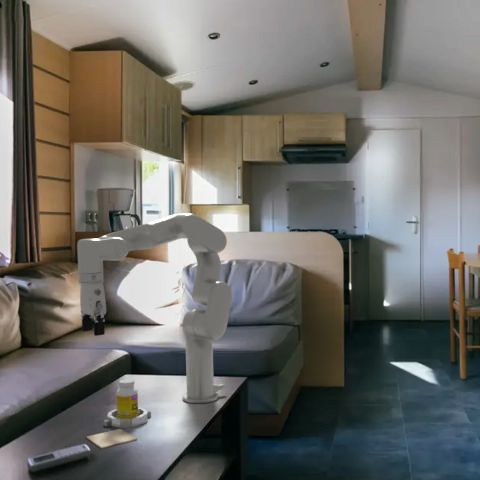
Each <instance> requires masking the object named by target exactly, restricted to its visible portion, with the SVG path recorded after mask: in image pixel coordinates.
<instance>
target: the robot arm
mask: <svg viewBox="0 0 480 480" xmlns="http://www.w3.org/2000/svg"><path fill="white" fill-rule="evenodd" d="M181 239H187V245H188V247H189V249H191V251H192V253H193V255H194V256H195V258H196V273H195V277H194V282H193V287H192V293H191V297H192V300H193V302H194V303H195V304H196V305H199V306H202V307H206V309H199V308H194V309H191V310H189V311H187V312H186V313H185V314H184V317H183V318H182V332H183V336H184V341H185V342H184V343H185V364H186V365H185V366H186V369H185V372H186V373H185V374H186V393H184V394H183V395H182V400H183V401H184V402H186V403H190V404H204V403H206V404H207V403H211V402H214V401H215V402H216V400H218V399H219V393H218V392H219V391H222V390H225V389H226V384H224V383H221V384H218V383H214V349H213V342H212V341H216V340H219V339H221V338H222V337H223V335H224V334H225V332H226V329H227V327H228V322H229V317H230V311H231V306H232V302H233V293H232V290H231V287H230V286H229V284H228V283H227V282H225V281H222V280H220V278H221V270H222V262H221V261H222V260H221V258H220V255H219V253H221V252H223V251H224V250H225V249H226V247H227V243H228V242H227V241H228V240H227V236H226V234H225V233H224V231H223V230H222V229H220V228H219V227H217V226H215V225H213V224H212V223H210V222H209V221H207V220H205V219H204V218H202V217H200V216H199V215H197V214H195V213H176V214H175V213H174V214H171V215H168V216H165V217H162V218H159V219H156V220H152V221H150V222H149V221H148V222H147V223H144V224H139V225H135V226H133V227H128V228H125V229H121V230H117V231H113V232H110V233H108V234H105V235H102V236H99V237H98V238H82V239H81V238H80V239H79V240H78V241H77V245H76V246H77V265H78V266H77V267H78V269H77V270H78V284H79V285H80V289H79V290H80V293H79V294H80V295H79V297H80V304H79V306H80V313H81V316H80V317H81V329H82V332H89V331H92V330H93V335H94V336H96V337H97V336H102V335H105V334H106V333H105V317H106V314H107V303H106V302H107V301H106V292H105V287H104V262H103V261H113V262H114V261H115V262H116V261H121V260H123V259H126V257H127V255H128V254H129V252H131V251H138V250H139V251H142V250H149V249H155V248H158V247H161V246H163V245H165V244H169V243H172V242H174V241H177V240H181ZM93 321H94V322H93Z"/></svg>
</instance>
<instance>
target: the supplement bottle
mask: <svg viewBox="0 0 480 480" xmlns="http://www.w3.org/2000/svg"><path fill="white" fill-rule="evenodd" d="M118 386H119V388H117V390H116V394H115V395H116V397H115V398H116V409H117V418H132V417H137V416H138V408H139V400H138V399H139V398H138V397H139V396H138V395H139V393H138V389H137V388H136V387H134V386H135V380H134V379H132V378H131V379H130V378H127V379H126V378H125V379H121V380H119V385H118Z"/></svg>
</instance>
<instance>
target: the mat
mask: <svg viewBox="0 0 480 480" xmlns="http://www.w3.org/2000/svg"><path fill="white" fill-rule="evenodd" d="M85 439H87V440H88V441H90V442H91V443H93V444H94V445H95V446H96V447H99V448H100V449H105V448H110V447H113V446H118V445H122V444H126V443H129V442H133V441H137V440H138V438H137V437H135V436H134V435H132V434H131V433H129V432H127V431H125V430H123V429H122V428H118V429H114V430H110V431H105V432H101V433H95V434H93V435H88V436H86V437H85Z"/></svg>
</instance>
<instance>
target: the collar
mask: <svg viewBox="0 0 480 480" xmlns="http://www.w3.org/2000/svg"><path fill="white" fill-rule="evenodd" d="M151 417H152V411H150V410H147V409H145V408H143V407H138V416H137V417H132V418H117V408H116V409H113V410H111V411H108V412H107V417H106V418H107V419H104V420H103V426H105V427H114V428H119V429H122V428H133V427H139V426H142V425H144V424H145V423H147V422H148V420H149V419H148V418H151Z"/></svg>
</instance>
